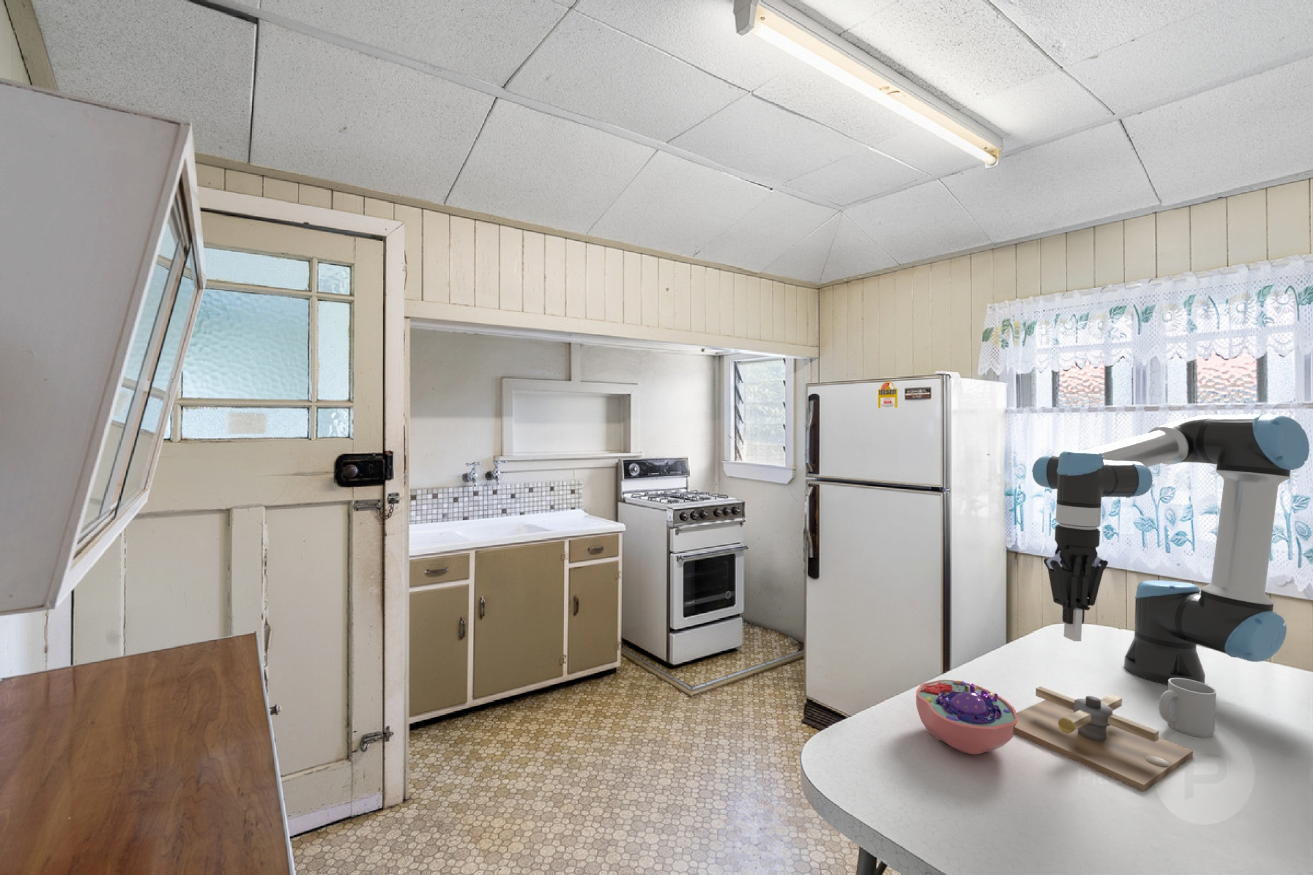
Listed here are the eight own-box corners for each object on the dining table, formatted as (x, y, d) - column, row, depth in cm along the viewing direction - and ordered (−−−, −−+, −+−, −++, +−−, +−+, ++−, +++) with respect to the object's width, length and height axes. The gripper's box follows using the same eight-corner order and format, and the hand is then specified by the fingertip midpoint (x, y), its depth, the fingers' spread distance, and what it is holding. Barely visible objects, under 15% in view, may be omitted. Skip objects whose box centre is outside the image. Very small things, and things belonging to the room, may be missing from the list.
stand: (1052, 701, 130) (1053, 683, 130) (1192, 756, 109) (1193, 734, 109) (999, 725, 119) (999, 705, 119) (1143, 791, 98) (1144, 767, 98)
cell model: (1000, 725, 119) (1002, 670, 119) (1027, 782, 100) (1029, 717, 100) (910, 710, 125) (912, 658, 125) (920, 762, 106) (921, 700, 106)
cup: (1224, 738, 116) (1226, 694, 115) (1175, 738, 115) (1177, 693, 115) (1190, 719, 123) (1192, 677, 123) (1144, 719, 123) (1145, 677, 122)
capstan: (1062, 686, 128) (1062, 668, 127) (1178, 729, 110) (1179, 708, 110) (1007, 710, 117) (1008, 691, 116) (1127, 761, 99) (1128, 739, 99)
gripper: (1089, 522, 125) (1084, 631, 126) (1034, 522, 123) (1030, 632, 124) (1122, 529, 118) (1116, 644, 118) (1063, 529, 116) (1058, 646, 117)
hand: (1072, 638), depth 121 cm, fingers closed
